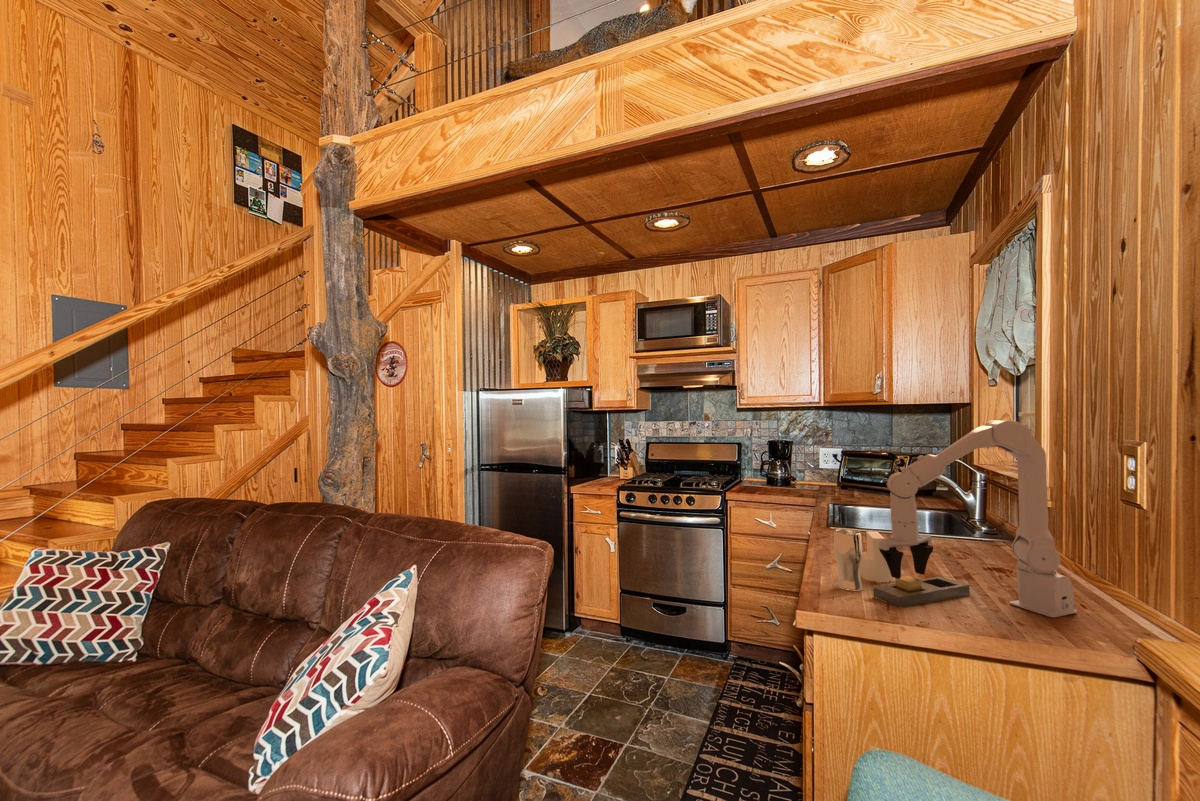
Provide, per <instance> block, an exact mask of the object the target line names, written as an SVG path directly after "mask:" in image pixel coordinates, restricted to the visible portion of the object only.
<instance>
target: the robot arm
mask: <svg viewBox="0 0 1200 801" xmlns="http://www.w3.org/2000/svg"><path fill="white" fill-rule="evenodd" d="M1032 432H1033V431H1032V430H1031V429H1030V428H1028V427H1027V426H1025V425H1023V424H1022V423H1020V422H1018V421H1016V420H1003V419H1002V420H1000V419H993V420H989V421H988V422H986V423H985V424H984V425H980V426H978V427H976V428H974V429H973V430H971V431H970V432H968V433H967V434H965V435H964V436H962V437H961V438H959V439H958V440H956V441H955V442H953V443H952V444H951V445H948V447H946V448H945V449H942V451H940V452H939V453H937V454H936V455H935V454H930V453H929V454H928V453H927V454H925V455H922V454H920V455H918V456H917V458H916V459H917V460H916V461H914V462H913V463H911V464H909V465H907V466H906V467H904V466H902V467H901V468H900V471H901V472H900V471H899V472H894V473H892V474H890V476H889V477H888V479H887V482H886V486H887V489H888V491H890V492H889V493H890V495H889V499H890V502H889V504H890V522H891V535H889V537H888V538H885V540H883V541H879V544H880V547H879V550H880V552H881V554H882V555H883V557H884V558H885V560H886V562H887V565H888V567H889V570H890V573H891V576H892V577H894V578H897V579H900V578H901V576H902V561H903V556H904V554H905V553H904V552H902V551H900V550H898V548H899V549H900V548H906V547H909V550H910V552H911V555H912V559H913V569H914V572H915V573H916V574H920V575H925V574H926V568H927V565H928V561H929V559H930V556H931V554H932V553H933V551H934V545H932V544H933V542H932V541H933V540H932V536H931V535H928V534H919V524H918V512H917V503H916V494H917V493H918V490H919V488H922V487H924V486H926V485H927V484H929V483H931V482H933V481H934V480H936V479H937V478H939V477H941V476H942V475H944V474H945V472H946V467H947V466H948V465H950V464H951V463H954V462H955V461H957V460H959V459H960V458H962V457H964V456H966V455H968V454H970V453H971V452H973V451H975V450H977V449H984V448H985V449H987V448H995V447H996V448H1000V449H1002V450H1004V451H1005V452H1007V453H1008V454H1009V455H1010V456H1012V457H1013V458H1015V459H1016V461H1017V484H1018V485H1017V487H1018V490H1017V491H1018V514H1019V515H1018V520H1019V525H1018V527H1017V529H1016V530H1015V538H1014V540H1013V542H1012V543H1011V552H1012V553H1013V556H1014V557H1015V558H1016V559H1017V563H1016V577H1017V579H1016V580H1017V594H1018V600H1011V601H1009V605H1012V606H1015V607H1018V608H1020V609H1021V608H1022V609H1025V610H1027V611H1030V612H1034V613H1037V614H1040V615H1042V616H1046V617H1050V618H1052V619H1053V618H1058V617H1063V616H1069V615H1073V614H1076V613H1078V610H1077V609H1075V598H1074V597H1075V596H1074V586H1073V583H1072V581H1071V579H1070V578H1069V577H1068V576H1065V575H1063V574H1061V573H1059V572H1058V571H1057V569H1058V568H1059V567H1060V565H1061V555H1060V553H1059V552H1058V550H1057V549H1056V545H1055V539H1054V538H1053V535H1052V534H1051V532H1050V530H1049V510H1048V508H1049V507H1048V505H1049V504H1048V481H1047V479H1048V478H1047V475H1048V474H1047V454H1046V450H1045V449H1044V448H1043V447H1042V445H1041V444H1040V442H1039V441H1038V440H1037V439H1036V438H1035V436H1034V434H1033V433H1032Z"/></svg>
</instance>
